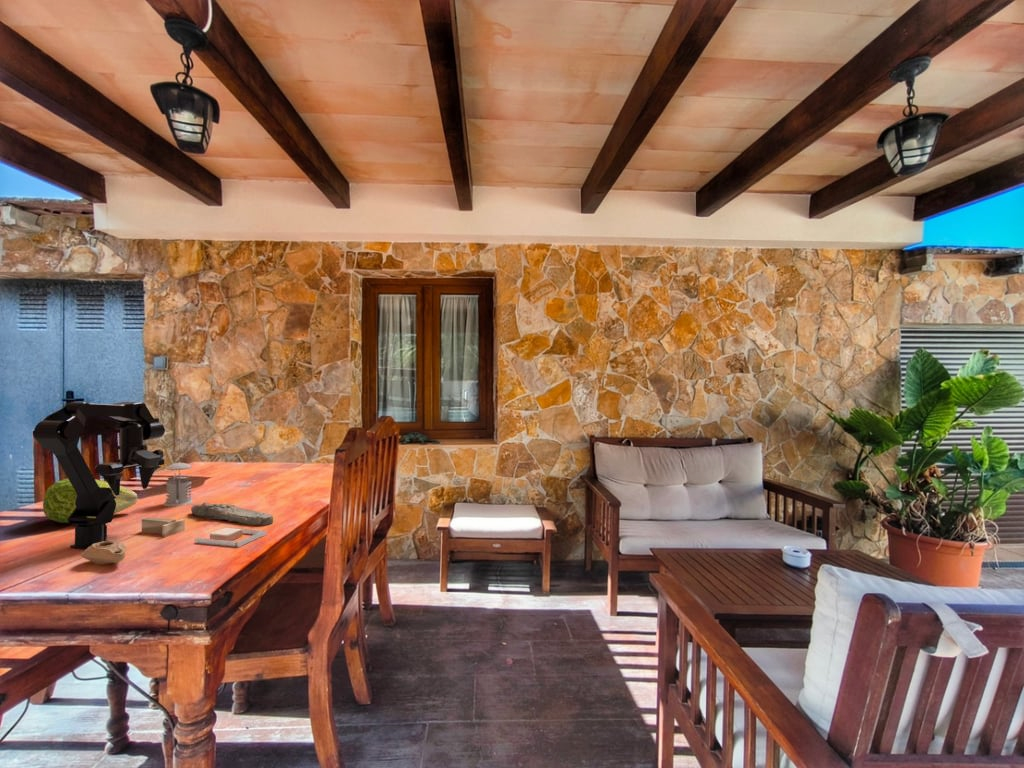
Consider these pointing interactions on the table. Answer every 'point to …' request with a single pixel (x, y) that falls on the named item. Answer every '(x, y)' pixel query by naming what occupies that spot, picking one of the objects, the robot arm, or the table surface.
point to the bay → (255, 535)
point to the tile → (226, 534)
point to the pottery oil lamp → (105, 552)
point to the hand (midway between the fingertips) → (131, 492)
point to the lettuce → (63, 499)
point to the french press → (178, 485)
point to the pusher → (162, 526)
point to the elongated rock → (231, 514)
